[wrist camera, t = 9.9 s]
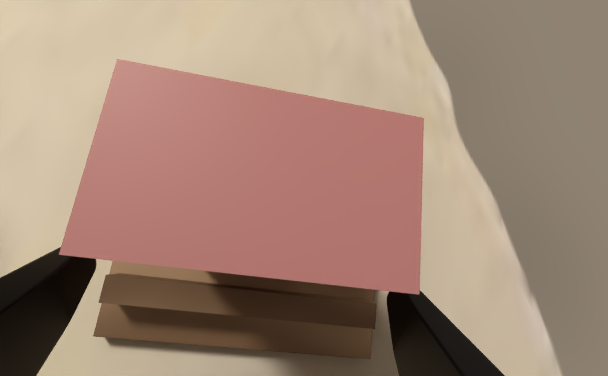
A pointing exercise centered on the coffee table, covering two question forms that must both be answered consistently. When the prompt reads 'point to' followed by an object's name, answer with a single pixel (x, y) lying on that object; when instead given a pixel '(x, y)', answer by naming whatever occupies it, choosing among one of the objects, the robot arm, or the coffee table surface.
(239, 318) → the book trough
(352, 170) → the pink tall block
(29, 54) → the coffee table surface
